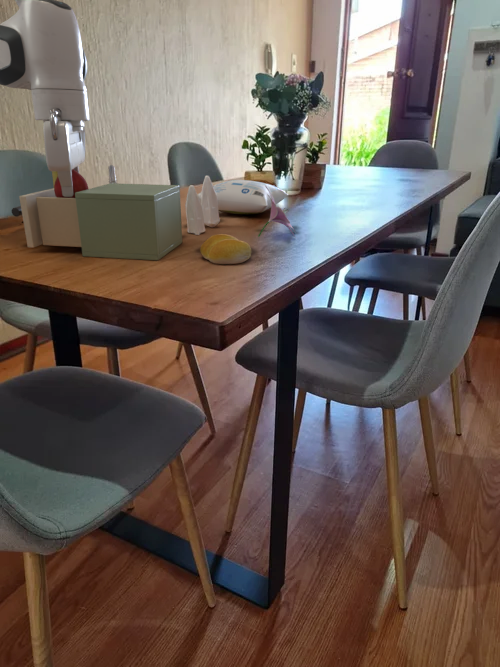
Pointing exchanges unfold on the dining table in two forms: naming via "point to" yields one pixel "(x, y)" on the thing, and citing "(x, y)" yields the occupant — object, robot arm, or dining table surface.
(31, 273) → the dining table surface
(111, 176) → the screw
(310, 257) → the dining table surface
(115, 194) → the cabinet
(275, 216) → the lily
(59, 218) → the drawer
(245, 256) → the bread roll
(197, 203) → the shaker set
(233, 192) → the pouch
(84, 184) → the onion
